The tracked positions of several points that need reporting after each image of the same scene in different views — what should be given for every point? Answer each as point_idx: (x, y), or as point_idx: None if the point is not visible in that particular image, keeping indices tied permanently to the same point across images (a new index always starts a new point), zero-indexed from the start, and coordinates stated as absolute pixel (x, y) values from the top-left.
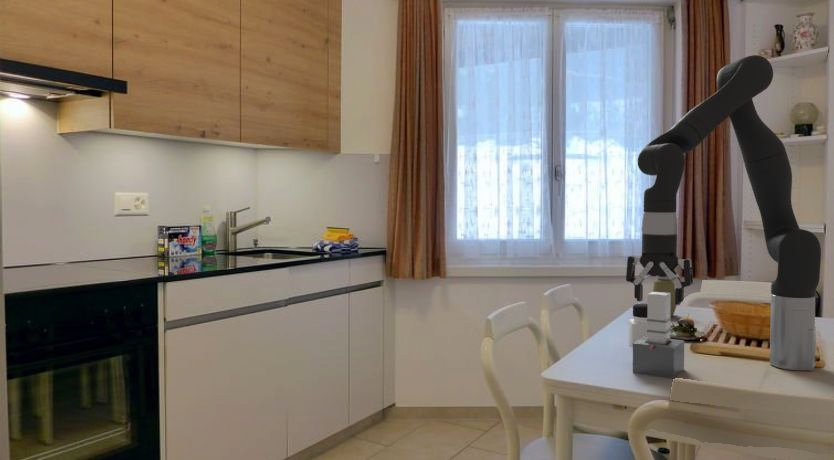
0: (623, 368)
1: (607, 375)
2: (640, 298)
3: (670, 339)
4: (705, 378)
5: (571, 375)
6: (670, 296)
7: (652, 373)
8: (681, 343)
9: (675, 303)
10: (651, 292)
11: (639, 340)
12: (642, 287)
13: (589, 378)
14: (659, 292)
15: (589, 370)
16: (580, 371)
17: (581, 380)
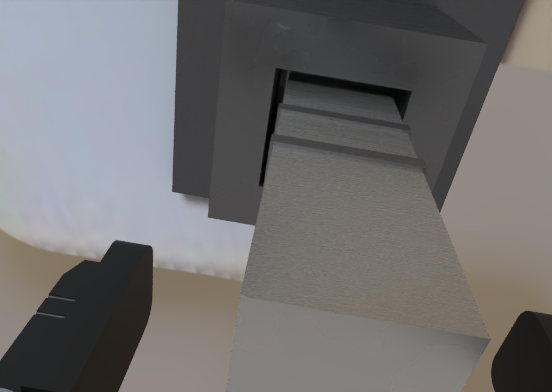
0: (167, 10)
1: (146, 145)
2: (142, 320)
3: (397, 51)
4: (528, 34)
5: (41, 189)
6: (475, 305)
7: None
8: (460, 113)
9: (495, 380)
10: (237, 354)
11: (224, 146)
12: (90, 371)
13: (107, 201)
14: (337, 334)
15: (61, 103)
16: (40, 130)
17: (96, 230)
